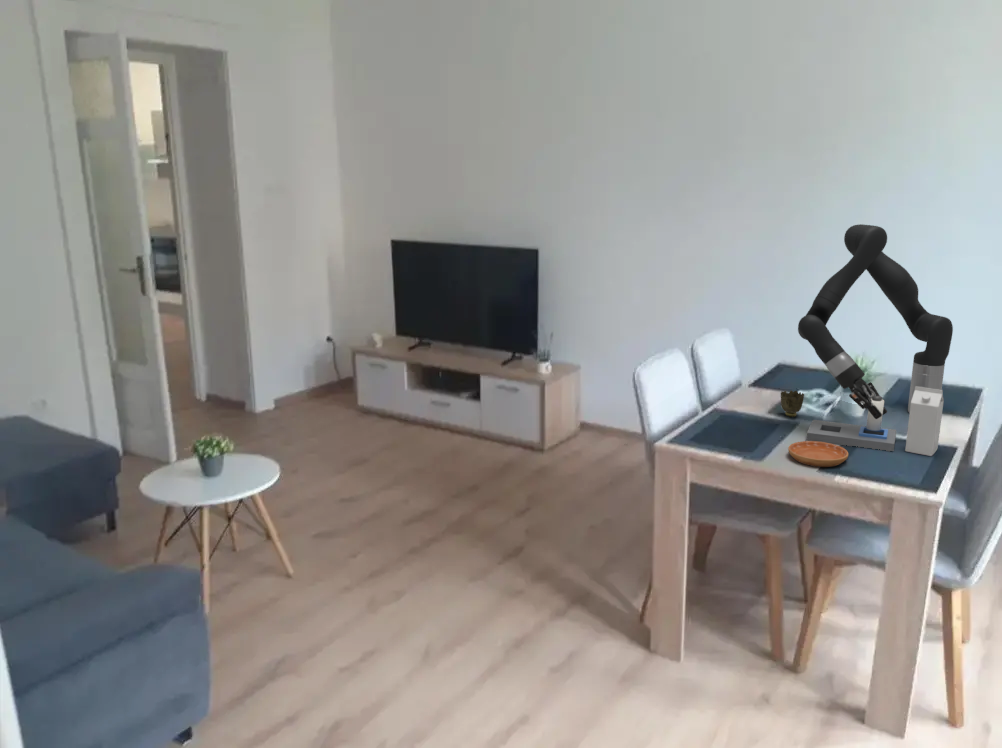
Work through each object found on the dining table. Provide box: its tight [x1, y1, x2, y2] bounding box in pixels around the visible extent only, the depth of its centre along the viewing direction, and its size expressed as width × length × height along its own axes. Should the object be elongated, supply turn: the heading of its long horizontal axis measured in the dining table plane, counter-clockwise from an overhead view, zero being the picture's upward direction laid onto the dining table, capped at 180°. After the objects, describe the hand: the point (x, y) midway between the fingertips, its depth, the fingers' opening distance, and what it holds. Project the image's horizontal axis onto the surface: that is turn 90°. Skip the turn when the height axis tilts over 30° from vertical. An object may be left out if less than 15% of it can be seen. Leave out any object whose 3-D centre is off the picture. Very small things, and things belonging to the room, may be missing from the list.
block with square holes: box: [805, 419, 897, 452], centre depth 242 cm, size 14×24×3 cm, turn 62°
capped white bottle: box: [865, 395, 885, 431], centre depth 237 cm, size 4×4×10 cm
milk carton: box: [904, 386, 945, 457], centre depth 229 cm, size 7×7×19 cm
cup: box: [780, 389, 805, 418], centre depth 264 cm, size 8×7×8 cm
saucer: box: [787, 440, 849, 468], centre depth 226 cm, size 16×16×3 cm
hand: (881, 415), depth 236 cm, fingers closed on capped white bottle, 4 cm apart
